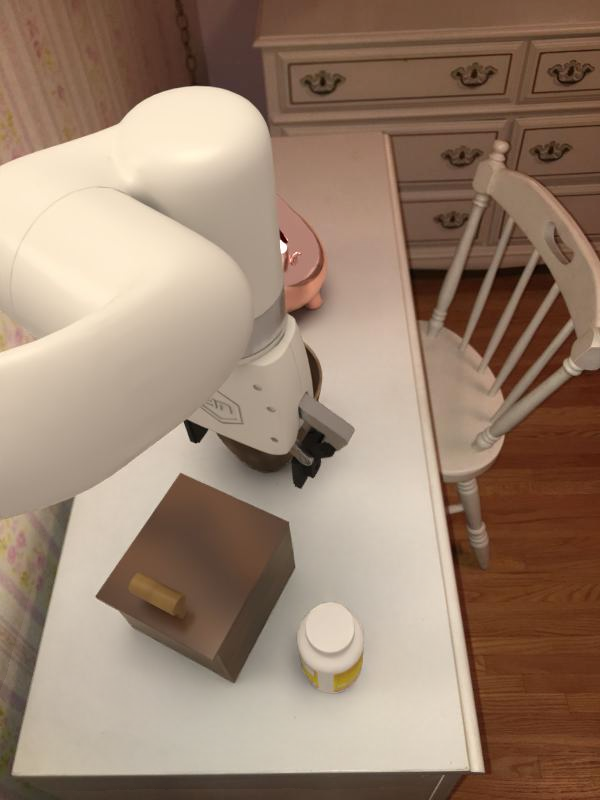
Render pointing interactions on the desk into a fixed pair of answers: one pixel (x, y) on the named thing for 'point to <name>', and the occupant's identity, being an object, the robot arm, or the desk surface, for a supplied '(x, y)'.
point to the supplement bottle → (331, 647)
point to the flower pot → (276, 462)
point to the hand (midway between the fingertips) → (253, 451)
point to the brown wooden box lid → (194, 565)
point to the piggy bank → (300, 259)
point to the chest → (241, 617)
